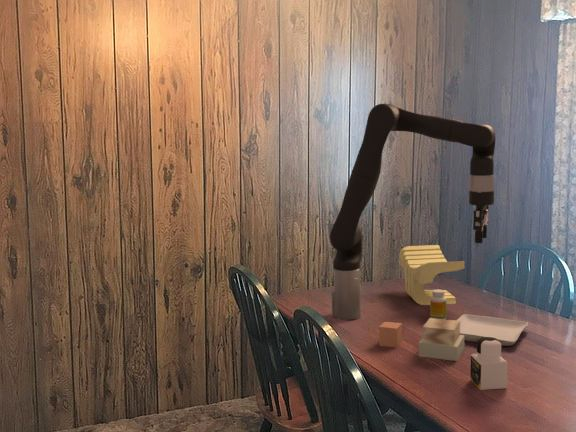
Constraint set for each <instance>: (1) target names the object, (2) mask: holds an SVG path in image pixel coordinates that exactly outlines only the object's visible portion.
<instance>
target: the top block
mask: <svg viewBox="0 0 576 432" xmlns="http://www.w3.org/2000/svg"><path fill="white" fill-rule="evenodd" d="M456 320H457V319H455V320H453V319H435V318H430V317H429V318H428V319H427V320H426V323H424V324H423V326H422V338H423V342H429V343H438V344H447V345H455V344H456V342H457V340H458V338H459V337H460V321H456Z"/></svg>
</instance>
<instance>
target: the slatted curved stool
mask: <svg viewBox="0 0 576 432" xmlns="http://www.w3.org/2000/svg"><path fill="white" fill-rule="evenodd" d="M398 259H399V260H398V265H399V266H401V267H402V270H403V271H404V284H405V292H406V293H407V295H408V296H409V297H410V298H412V300H413V301H414V302H416V303H417V304H418V305H421V306H430V298H431V297H432V296H433V295H432V291H433V290H434V289H425V286H426V284H427V285H429V284H433V281H434V279H435V277H436V276H437V275H438V274H441V273H442V274H443V273H449V272H450V273H451V272H458V271H460V270H464V269H465V260H458V261H457V260H456V261H447V258H445V255H444V254H443V252H442V250H441V247H440V245H439V244H431V245H429V244H428V245H425V244H424V245H408V246H404V247H403V248H401V250H400V252H399V254H398ZM443 290H444V297H446V300H447V305H451V304H453V305H455V304H457V300H456V297H455V296H454V295H452V294H451V293H450V292H449V291H448V290H446V289H443Z"/></svg>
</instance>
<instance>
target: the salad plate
mask: <svg viewBox="0 0 576 432" xmlns="http://www.w3.org/2000/svg"><path fill="white" fill-rule="evenodd" d="M455 320H456V321H460V335H465V338H464V341H465V342H466V341H467V342H474V343H477V340H478V339H480V338H483V337H493V338H496V339H498V340H500V341H501V347H509V346H513V345H515V344H516V342H517V341H518V339H519V337H520V335H521V333H522V332H523V331H524V330H525V329H527V327H528V325H529V322H528V321H522V320H514V319H509V318H503V317H502V318H501V317H495V316H494V317H493V316H488V315H487V316H485V315H477V314H468V313H466V314H465V313H464V314H462V315H461V316H460V317H459V318H457V319H455Z"/></svg>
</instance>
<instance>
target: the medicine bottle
mask: <svg viewBox="0 0 576 432" xmlns="http://www.w3.org/2000/svg"><path fill="white" fill-rule="evenodd" d="M508 364H509V363H508V361H507V360H505V359H504V358H503V357H502V346H501V341H500V340H498V339H496V338H493V337H483V338H480V339H478V340H477V342H476V353H471V354H470V380H471V382H472V383H474V385H475V386H476V387H477V388H478V389H479V390H480V391H487V390H500V389H501V390H503V389H505V390H506V389H507V388H508V366H509V365H508Z"/></svg>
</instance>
